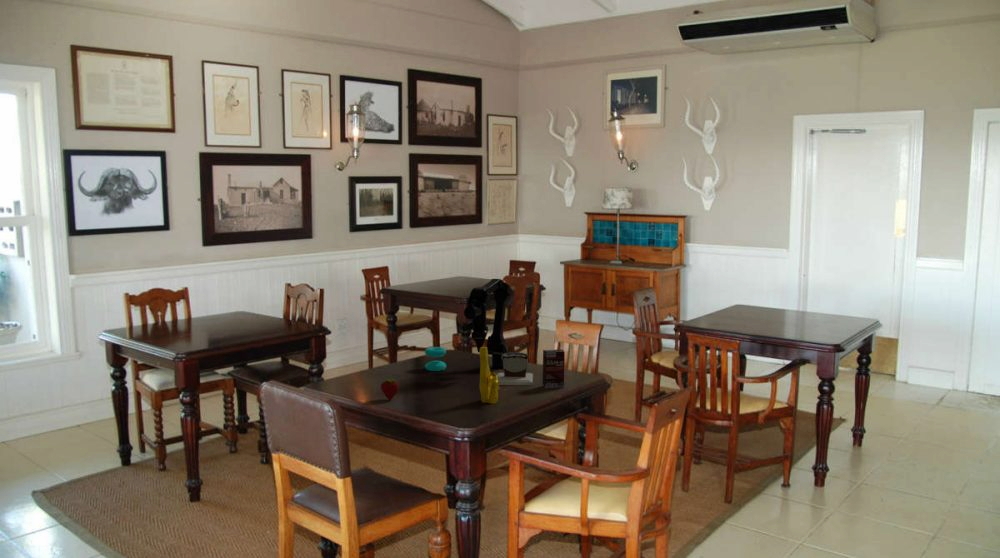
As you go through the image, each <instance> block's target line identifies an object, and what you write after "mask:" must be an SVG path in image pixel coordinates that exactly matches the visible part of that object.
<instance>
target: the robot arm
mask: <svg viewBox="0 0 1000 558" xmlns="http://www.w3.org/2000/svg"><path fill="white" fill-rule="evenodd" d="M491 294H493V299H494V301H495V310H494V318H493V325H492V333H491V334H490V335H489V336H487V335H488V332H489V327H488V325H487V305H488V300H489V298H490V295H491ZM512 294H513V290H512V287H511V286H510V285H509V284H508V283H506V282H504V280H503V279H501V278H492V279H490V281H488V282H487V283H485V284H484V285H482V286H476V287H474V288H472V290H471V291H470V294H469V296H468V297H469V298H468V300H467V307H465V308H464V310H463V315H464V317H465V319H467V320H471V321H468V322H463V323H462V324H461V325H460V328H461V331H462V333H463V334H464V333H466V332H467V331H470V330H472V331H471V334H470V335H471V339H472V340H473V341H474V342H475V345H476V350H477V353H480V348H481V347H484V343H485V342H486V346H485V347H487V350H488V356H491V365H490V370H493V369H494V370H495V369H496V370H498V369H499V370H500V369H501V370H504V368H503V359H501V357H502V355H503V354H505V353H509V349H508V347H507V345H506V339H505V337H504V334H503V333H504V326H505V325H504V324H505V319H506V310H507V304H508V303H509V302H510V300H511V297H512ZM486 339H487V341H486Z"/></svg>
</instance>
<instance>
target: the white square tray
mask: <svg viewBox="0 0 1000 558" xmlns="http://www.w3.org/2000/svg"><path fill="white" fill-rule="evenodd" d="M496 375H497V380H498V386H532V385H534V381H533V380H534V373H532V372H526V377H504V372H498V373H496Z"/></svg>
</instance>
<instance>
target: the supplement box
mask: <svg viewBox="0 0 1000 558" xmlns="http://www.w3.org/2000/svg"><path fill="white" fill-rule="evenodd" d="M565 357H566V356H565V351H564V350H563V349H542V387H543V386H544V387H545V388H544V387H543V388H544V389H559V388H560V389H561V387H565V360H566V359H565Z"/></svg>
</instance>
